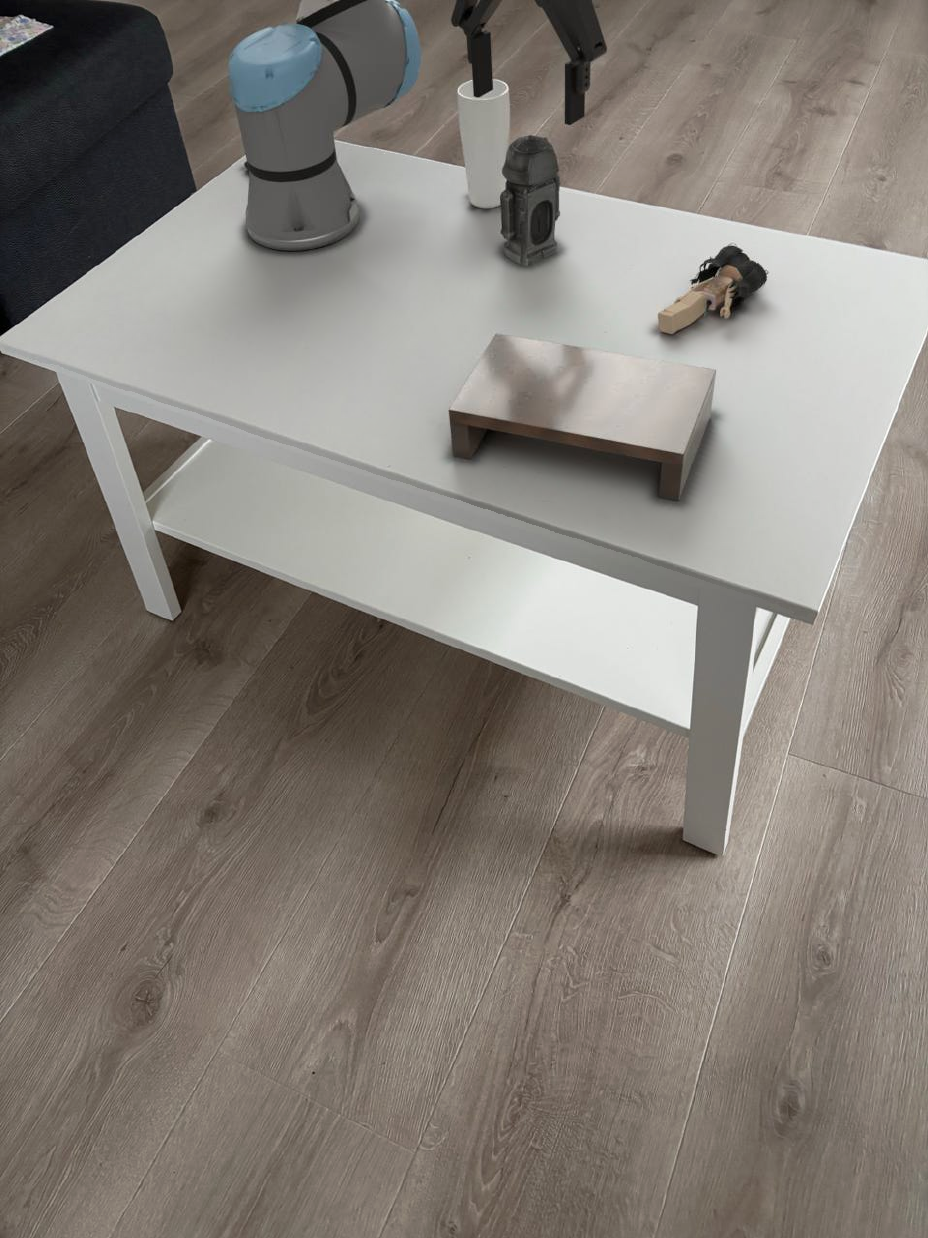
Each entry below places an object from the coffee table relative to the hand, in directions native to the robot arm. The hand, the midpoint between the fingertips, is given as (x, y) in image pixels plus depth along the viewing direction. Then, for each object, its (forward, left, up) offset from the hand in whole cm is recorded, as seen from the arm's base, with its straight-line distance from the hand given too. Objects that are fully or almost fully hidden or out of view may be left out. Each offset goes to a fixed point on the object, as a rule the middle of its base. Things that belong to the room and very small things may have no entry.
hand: (527, 106), depth 126 cm
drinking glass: (-13, +7, -19) cm, 24 cm away
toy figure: (+26, +2, -19) cm, 32 cm away
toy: (0, 0, -19) cm, 19 cm away
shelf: (+28, -26, -18) cm, 42 cm away
